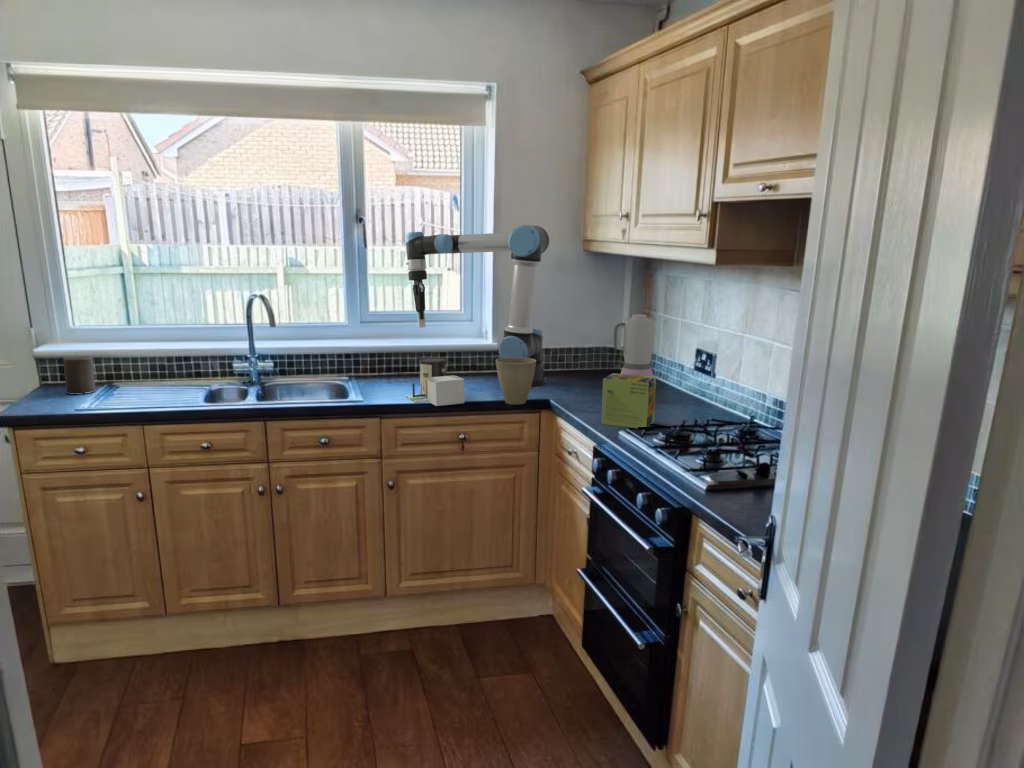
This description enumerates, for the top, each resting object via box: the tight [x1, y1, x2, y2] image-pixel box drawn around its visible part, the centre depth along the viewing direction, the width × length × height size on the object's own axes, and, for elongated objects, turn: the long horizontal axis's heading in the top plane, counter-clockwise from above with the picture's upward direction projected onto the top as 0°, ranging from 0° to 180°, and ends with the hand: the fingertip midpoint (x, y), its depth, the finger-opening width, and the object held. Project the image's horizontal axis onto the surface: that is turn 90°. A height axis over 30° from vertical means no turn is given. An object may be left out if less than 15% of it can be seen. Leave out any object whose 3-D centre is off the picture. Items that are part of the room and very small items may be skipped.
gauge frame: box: [405, 374, 465, 407], centre depth 259 cm, size 16×18×9 cm
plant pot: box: [495, 357, 536, 406], centre depth 256 cm, size 15×15×16 cm
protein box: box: [600, 372, 657, 429], centre depth 227 cm, size 10×15×16 cm
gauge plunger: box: [412, 378, 428, 399], centre depth 258 cm, size 16×8×7 cm, turn 118°
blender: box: [613, 313, 657, 377], centre depth 260 cm, size 16×12×32 cm
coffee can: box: [418, 357, 447, 399], centre depth 267 cm, size 10×10×14 cm
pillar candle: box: [62, 355, 96, 393], centre depth 268 cm, size 10×10×15 cm
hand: (421, 327), depth 290 cm, fingers closed
